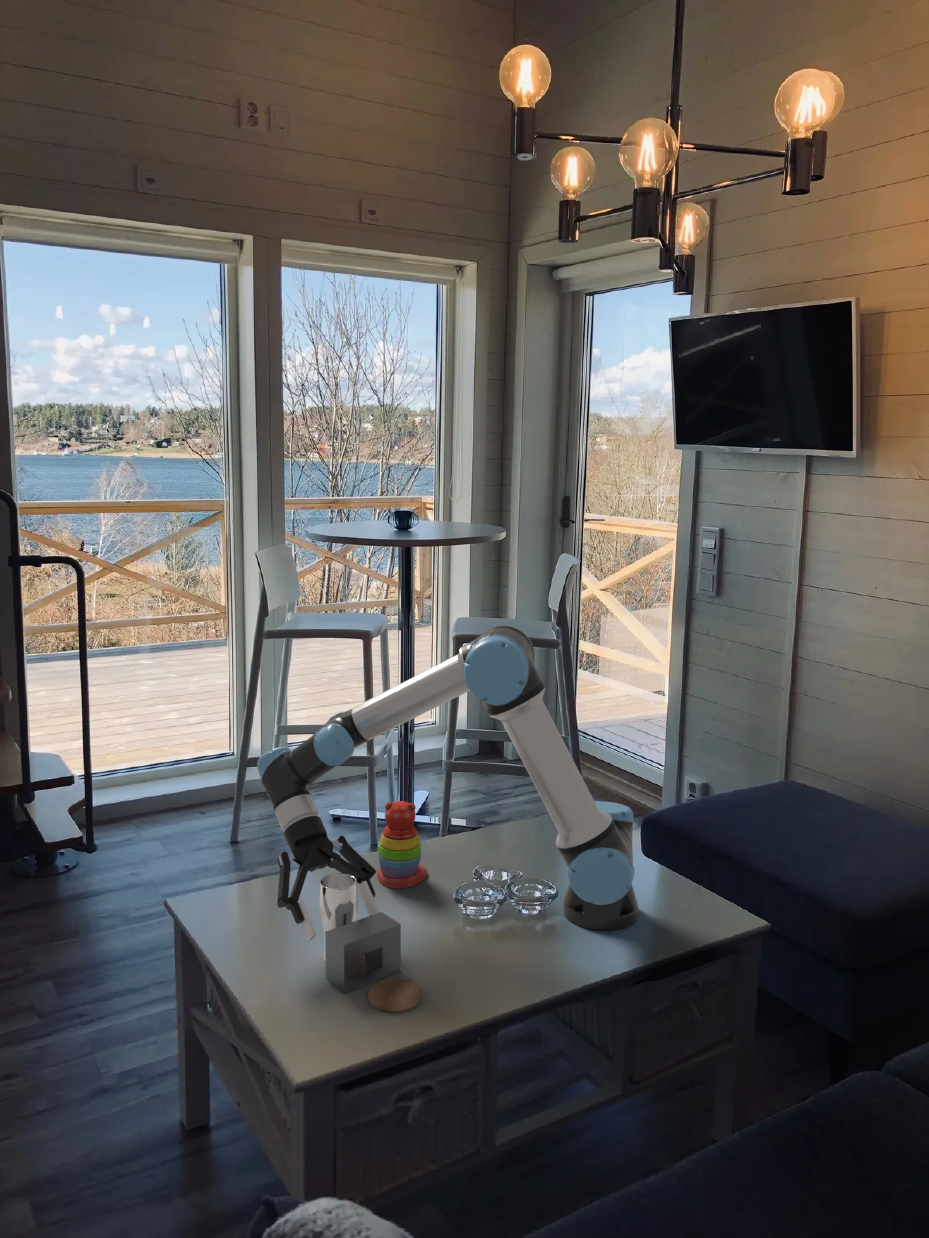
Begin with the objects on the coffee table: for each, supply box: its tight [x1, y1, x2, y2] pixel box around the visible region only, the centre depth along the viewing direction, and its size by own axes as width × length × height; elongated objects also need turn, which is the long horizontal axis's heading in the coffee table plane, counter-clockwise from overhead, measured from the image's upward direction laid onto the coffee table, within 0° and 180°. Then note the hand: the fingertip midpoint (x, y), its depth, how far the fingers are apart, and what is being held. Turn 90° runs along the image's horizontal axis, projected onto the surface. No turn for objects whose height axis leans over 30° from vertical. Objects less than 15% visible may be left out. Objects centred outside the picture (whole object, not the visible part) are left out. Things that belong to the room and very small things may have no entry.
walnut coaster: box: [367, 977, 422, 1014], centre depth 166 cm, size 9×9×1 cm
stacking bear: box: [376, 800, 428, 889], centre depth 211 cm, size 11×10×18 cm
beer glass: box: [319, 872, 359, 963], centre depth 179 cm, size 7×7×15 cm
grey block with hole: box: [324, 911, 402, 994], centre depth 173 cm, size 6×12×9 cm, turn 130°
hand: (344, 926), depth 177 cm, fingers open, 13 cm apart
